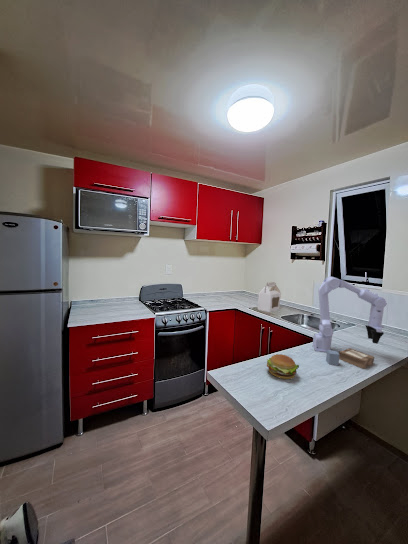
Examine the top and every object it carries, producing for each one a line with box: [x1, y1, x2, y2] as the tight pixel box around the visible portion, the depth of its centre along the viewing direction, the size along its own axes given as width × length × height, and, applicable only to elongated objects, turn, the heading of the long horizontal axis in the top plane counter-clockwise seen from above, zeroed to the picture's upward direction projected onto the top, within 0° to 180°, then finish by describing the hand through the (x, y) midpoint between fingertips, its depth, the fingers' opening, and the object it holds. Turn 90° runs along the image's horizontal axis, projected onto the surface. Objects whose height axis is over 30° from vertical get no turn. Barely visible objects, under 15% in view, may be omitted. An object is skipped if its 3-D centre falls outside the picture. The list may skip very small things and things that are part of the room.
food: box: [266, 353, 300, 380], centre depth 105 cm, size 14×14×8 cm
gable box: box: [257, 281, 282, 313], centre depth 231 cm, size 22×13×28 cm, turn 136°
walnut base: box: [338, 347, 375, 370], centre depth 123 cm, size 12×12×4 cm
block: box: [325, 349, 340, 367], centre depth 119 cm, size 4×4×6 cm
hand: (372, 340), depth 129 cm, fingers open, 7 cm apart
